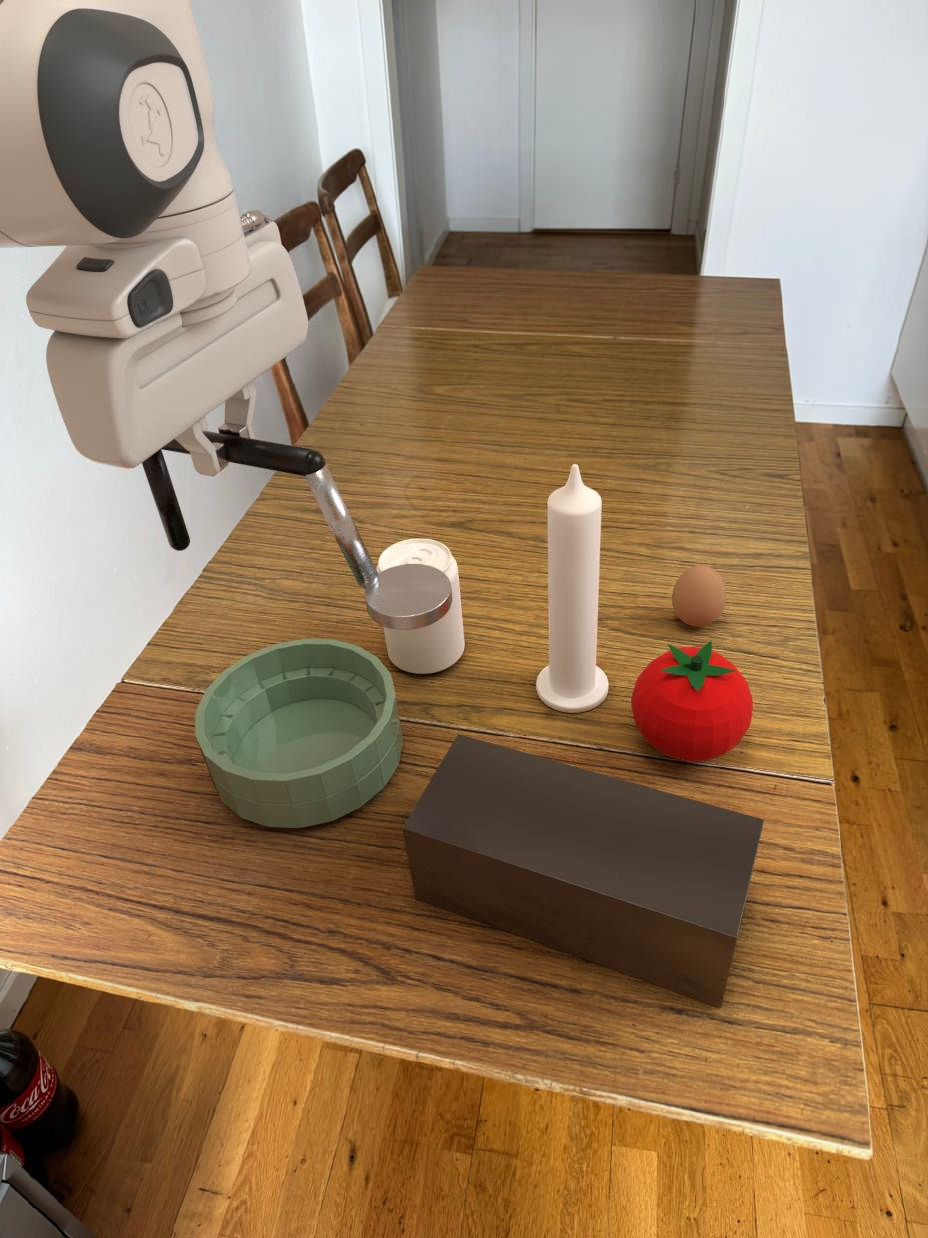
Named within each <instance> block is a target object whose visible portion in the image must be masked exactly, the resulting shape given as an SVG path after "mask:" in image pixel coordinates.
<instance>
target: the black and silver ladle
mask: <svg viewBox="0 0 928 1238" xmlns="http://www.w3.org/2000/svg"><path fill="white" fill-rule="evenodd" d="M202 432H203V431H202ZM203 434H204V435H205V436H206V437H207V438H208V440H209V441H211V443H215V442H216V443H222V444H224V446H225V450H226V457H227V458H228V461H229V463H231V464H232V463H233V464H236V465H237V464H238V465H242V466H248V467H253V468H259V469H264V470H269V471H274V472H280V473H287V474H291V475H296V476H300V477H301V476H302V477H304V479H305V481H306V483H307V486H308V487H309V489H310V491H311V493H312V496H313V497H314V499H315V501H316V503H317V505H318V507H319V509H320V511H321V514H322V515H323V517H324V519H325V521H326V523H327V525H328V527H329V529H330V530H331V533H332V535H333V537H334V539H335V542H336V543H337V545H338V547H339V550H340V551H341V553H342V555H343V557H344V559H345V561H346V562H347V565H348V567H349V569H350V571H351V573H352V574H353V577H354V579H355V581H356V583H357V584H358V585H359V586H360V587H361V588H363V589H364V601H365V608H366V611H367V614H368V616H369V618H370V619H372V621H373V622H375V623H376V624H378V626H381V627H383V626H384V627H387V628H390V629H396V630H412V629H418V628H422V627H425V626H428V625H431V624H433V623H435V622H437V621H438V620H440V619H441V618H442V617H443V616H444V615H445V614H446V613H447V612H448V611H449V609H450V607H451V604H452V590H451V583H450V580H449V578H448V577H447V576H446V574H444V573H443V572H442V571H441V570H439V569H437V568H435V567H432V566H428V565H423V564H404V565H398V566H394V567H391V568H388V569H386V570H384V571H382V572H380V573H379V574H378V571H377V569H376V568H377V566H375V564H374V561H373V560H372V557H371V555H370V553H369V551H368V549H367V547H366V544H365V543H364V540H363V539H362V537H361V534H360V533H359V531H358V528H357V526H356V524H355V522H354V520H353V518H352V515H351V514H350V511H349V509H348V508H347V505H346V503H345V501H344V499H343V496H342V495H341V493H340V490H339V489H338V487H337V485H336V482H335V481H334V478H333V477H332V474H331V472H330V471H329V468H328V466H327V464H326V458H325V457H324V455H323V454H322V453H321V452H320V451H318V450H317V449H312V448H307V447H301V446H296V445H291V444H283V443H278V442H273V441H272V442H271V441H267V440H261V439H256V438H255V439H250V438H244V437H239V436H233V435H227V434H221V433H219V432H216V431H210V430H206V431H204V432H203ZM163 450H164V451H166V452H167V451H168V452H172V453H173V452H174V453H178V454H184V455H190V456H191V454H190V451H188V450H186V449H185V448H184V447H183V446H182V445H181V444H180V443H179V442H178V441H176V440H175V439H173V440H172V441H171V442H169V443H168V444H166V445H165V446H164V447H162V448H161V449H160V450H158V451H157V452H156V453H154V454H153V455H151V456H150V457H149V458H147V459H146V460H145V461H143V462H142V463H141V465H142V468H143V470H144V474H145V477H146V480H147V483H148V486H149V489H150V493H151V494H152V498H153V501H154V504H155V506H156V510H157V512H158V515H159V518H160V521H161V524H162V527H163V530H164V532H165V537H166V539H167V542H168V545H169V547H170V548H171V549H173V550H174V551H177V552H182V551H185V550H186V549H188V548H189V546H190V543H191V537H190V534H189V532H188V527H187V525H186V522H185V518H184V515H183V513H182V509H181V506H180V503H179V500H178V497H177V494H176V491H175V490H176V489H175V487H174V484H173V481H172V478H171V474H170V471H169V469H168V466H167V462H166V459H165V456H164V452H163ZM384 627H383V628H384Z"/></svg>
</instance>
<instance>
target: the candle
mask: <svg viewBox="0 0 928 1238" xmlns="http://www.w3.org/2000/svg"><path fill="white" fill-rule="evenodd" d="M579 468H580V467H579V465H578V464H576V463H574V464H572V465H571V467H570V472H569V475H568V478H567V481H566V483H565V485H564V486H562V487H559V488H556V489H555V490H553V491H552V492H551V493H550V494H549V496H548V498H547V505H546V506H547V507H546V508H547V509H546V510H547V588H548V589H547V595H548V596H547V597H548V599H547V602H548V603H547V604H548V605H547V606H548V612H547V613H548V665H546V666H545V667H543V668H542V669H541V670H540V672H539V673H538V675H537V676H536V681H535V689H536V692H537V696H538V697H539V699H540V701H541V702H542V703H543V704H545V705H546V706H548V707H549V708H551V709H553V710H555V711H559V712H562V713H570V714H576V713H584V712H588V711H590V710H593V709H595V708H597V707H599V706H600V705H601V704H602V703H603V702H604V701H605V699H606V698H607V696H608V693H609V685H610V684H609V679H608V676H607V675H606V673H605V672H604V671H603V670H602V669H601V668H600V667H599V666H597V652H598V651H597V649H598V647H597V646H598V620H599V617H598V616H599V593H600V589H599V588H600V566H601V565H600V563H601V537H602V535H601V533H602V506H603V505H602V503H603V501H602V496H601V495H600V494H599V493H598V492H597V491H596V490H595V489H592V488H591V487H588V486H587V485H585V484H584V482H583V480H582V476H581V472H580V469H579Z"/></svg>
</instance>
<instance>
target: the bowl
mask: <svg viewBox="0 0 928 1238" xmlns="http://www.w3.org/2000/svg"><path fill="white" fill-rule="evenodd" d="M399 714H400V713H399V708H398V702H397V695H396V690H395V685H394V681H393V676H392V674H391V672H390V671H389V669H387V667H386V666H385V665H384V664H383V662H382V661H381V659H380V658H379V657H377V655H374V653H371V652H369V651H368V650H366V649H364V648H362V647H361V646H359V645H357V644H354V643H349V642H347V641H346V642H345V641H343V640H339V639H333V638H299V639H295V640H290V641H289V640H288V641H283V642H280V643H279V642H277V643H275V644H272V645H269V646H267V647H264V648H261V649H259V650H256V651H254V652H251V653H249V654H247V655H245V656H243V657H241V658H240V659H239V660H237V661H235V662H234V663H233V664H231V665H230V666H228V667H227V668H226V669H224V670H223V671H222V672H221V673H220V674H219V675H218V676H217V677H216V678H215V679H214V680H213V681H212V682H211V684H210V685H209V686H207V688H206V689H205V691H204V692H203V695H202V697H201V699H200V701H199V704H198V706H197V708H196V709H195V713H194V738H195V740H196V743H197V744H198V747H199V750H200V752H201V755H202V758H203V761H204V764H205V767H206V768H207V772H208V774H209V777H210V780H211V782H212V784H213V786H214V788H215V790H216V793H217V795H218V797H219V799H220V801H221V803H223V804H224V805H225V806H227V808H228V809H230V810H231V811H232V812H234V813H235V814H236V815H237V816H238V817H240V818H241V819H244V820H247V821H250V822H253V823H255V824H259V825H261V826H264V827H268V828H286V829H302V828H306V827H311V826H316V825H320V824H321V825H322V824H325V823H326V824H327V823H332V822H333V821H335V820H338V819H340V818H342V817H344V816H346V815H348V814H350V813H351V812H354V811H356V810H358V809H361V808H362V807H363V806H364V805H365V804H366V803H367V802H369V801H370V800H371V799H372V798H373V797H375V796H376V795H377V794H378V793H380V792H381V791H382V790H383V789H384V788H385V787H386V785H387V784H388V782H389V781H390V780H391V777H392V776H393V775H394V773H395V772H396V770H397V768H398V766H399V764H400V759H401V755H402V749H403V746H404V738H403V732H402V731H403V730H402V726H401V720H400V715H399Z"/></svg>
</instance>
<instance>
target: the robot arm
mask: <svg viewBox="0 0 928 1238" xmlns="http://www.w3.org/2000/svg"><path fill="white" fill-rule="evenodd" d="M215 115H216V104H215V95H214V90H213V86H212V82H211V78H210V74H209V68H208V65H207V61H206V56H205V52H204V49H203V43H202V41H201V38H200V33H199V30H198V27H197V22H196V20H195V16H194V12H193V9H192V6H191V3H190V0H0V249H6V248H7V249H8V248H9V249H10V248H36V247H38V248H39V247H61V246H62V247H63V246H65V247H64V249H63V250H62V251H61V252H60V254H59V255H58V256H57V258H55V259H54V261H53V262H52V263H51V264H50V265H49V266H48V268H46V270H45V271H44V272H43V273H42V274H41V276H39V277H38V278H37V280H36V281H35V282H34V283H33V284H32V285H31V286H30V288H29V289H28V291H27V293H26V295H25V303H26V308H27V311H28V312H29V315H30V317H31V319H32V321H33V322H34V324H35V325H36V326H37V327H39V328H43V329H46V330H50V331H53V332H52V333H51V335H50V337H49V339H48V341H47V345H46V350H45V361H46V363H45V364H46V368H47V374H48V379H49V382H50V384H51V388H52V391H53V395H54V398H55V400H56V404H57V407H58V410H59V412H60V415H61V419H62V421H63V424H64V427H65V429H66V431H67V434H68V436H69V439H71V442H72V445H73V446H74V448H75V450H76V451H77V452H78V453H79V454H80V455H81V456H83V457H84V458H86V459H88V460H89V461H91V462H93V463H96V464H100V465H105V466H109V467H113V468H114V467H116V468H120V469H131V470H132V469H135V468H136V467H138V466H140V465H142V462H143V461H145V460H146V459H147V458H149V457H150V456H151V455H153V454H154V453H156V452H157V451H158V450H160V449H161V448H162V447H164V446H165V445H166V444H168V443H169V442H171V441H172V440H173V439H175V440H176V441H178V442H179V443H180V444H181V445H182V446H183V447H184V448H185V449H186V450H188V451H190V454H191V455H190V457H191V461H192V464H193V467H194V469H195V471H196V472H197V473H198V474H199V475H203V476H207V477H213V478H214V477H216V476H217V475H218V474H220V472H222V471H223V470H224V469H225V468H226V467H228V466H229V464H230V462H229V461H228V458H227V457H226V450H225V446H224V444H222V443H216V442H215V443H211V441H209V440H208V438H207V437H206V436H205V435H204V434H203V432H204V431H208V428H209V426H208V425H209V424H208V421H207V418H206V416H208V415H209V414H210V413H212V412H213V411H214V410H216V409H217V408H218V407H220V406H221V405H223V404H224V423H222V424H221V425H220V426H218V428H217V430H218V433H221V434H227V435H233V436H239V437H244V438H250V439H256V437H255V436H256V435H255V432H254V427H253V425H252V422H253V419H254V414H255V413H254V412H255V405H256V400H257V395H258V394H257V389H256V388H257V387H256V384H255V380H257V379H258V378H260V376H262V375H264V374H265V373H266V372H268V371H269V370H270V369H271V368H273V367H274V366H276V365H277V364H278V363H280V362H281V361H282V360H284V359H285V358H286V357H288V356H289V355H290V354H292V353H294V352H295V351H296V350H297V349H299V348H300V347H302V346H303V345H304V344H305V343H306V341H307V336H308V330H309V318H308V313H307V308H306V305H305V300H304V297H303V293H302V289H301V286H300V283H299V279H298V276H297V273H296V270H295V267H294V263H293V260H292V257H291V256H290V254H289V252H288V251H287V249H286V247H284V245H283V244H282V239H281V233H280V229H279V227H278V225H277V223H276V222H275V221H273V220H272V218H271V217H269V216H268V215H267V214H265V213H263V212H261V210H259V209H251V210H248V211H246V212H244V213H243V214H240V211H239V209H240V208H239V204H238V201H237V196H236V192H235V187H234V182H233V179H232V175H231V173H230V172H229V169H228V168H227V166H226V164H225V162H224V159H223V158H222V155H221V152H220V150H219V145H218V142H217V138H216V137H217V136H216V129H215V119H216V118H215ZM202 431H203V432H202Z"/></svg>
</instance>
